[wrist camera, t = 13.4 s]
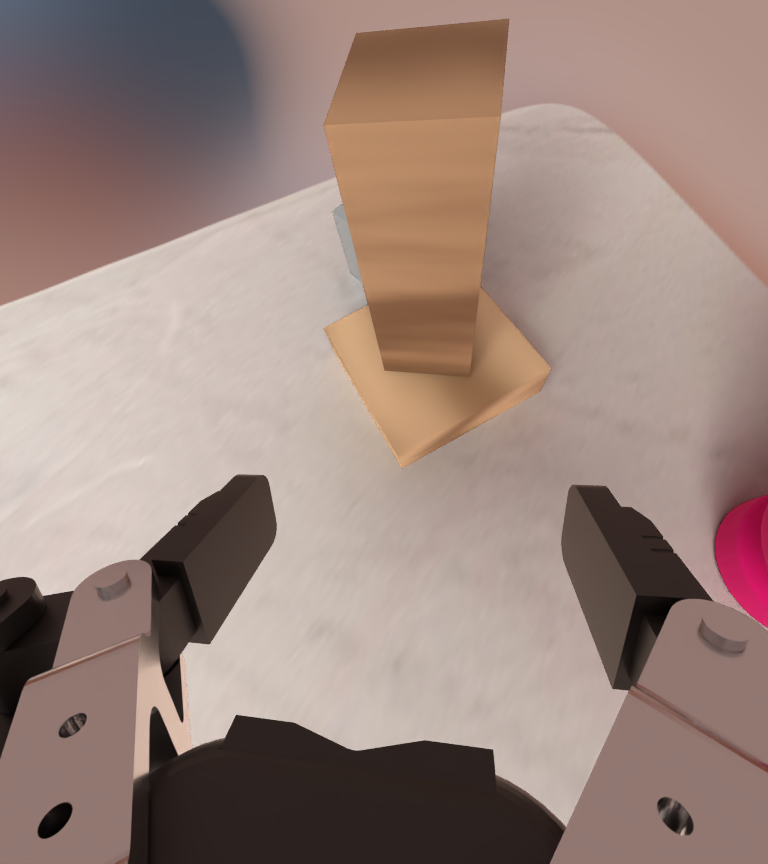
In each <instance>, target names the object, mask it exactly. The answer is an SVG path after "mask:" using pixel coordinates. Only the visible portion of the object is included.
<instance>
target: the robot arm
mask: <svg viewBox="0 0 768 864" xmlns="http://www.w3.org/2000/svg"><path fill="white" fill-rule="evenodd" d="M276 529H277V524H276V517H275V512H274V507H273V502H272V497H271V491H270V486H269V482H268V479H267V478H266V476H264V475H240V474H239V475H236V476H235V477H233V478H232V479H231V480H230V481H229V482H228V483H227V484H226V485H225V486H224V487H223V488H222V489H221V490H220V491H218V492H216V493H214V494H212V495H211V496H209V497H207V498H205V499H204V500H202V501H200V502H199V503H198V504H197V505H196V506H195V507H194V508H193V509H192V510H191V511H190V512H189V513H188V516H185V517H184V518H183V519H182V520H180V521H179V522H178V526H174V527H173V528H172V529H171V530H170V531H169V532H168V533H167V534H166V535H165V536H164V537H163V538H162V539H161V540H160V541H159V542H158V543H157V544H155V545H154V546H153V547H152V548H151V549H150V550H149V551H148V552H147V553H146V554H145V555H144V556H143V557H142V558H141V559H140V560H127V561H122V562H118V563H115V564H112V565H109V566H107V567H105V568H102V569H101V570H99V571H97V572H95V573H94V574H92V575H90V576H89V577H88V578H86V579H85V580H84V581H83V582H82V583H81V584H79V586H78V587H77V588H76V589H75V591H70V592H64V593H58V594H52V595H47V596H42V594H41V592H40V590H39V588H38V586H37V584H36V582H35V581H34V580H33V579H31V578H28V577H17V578H11V579H6V580H3V581H0V864H768V631H767V630H766V629H765V628H763V627H762V626H761V625H760V624H758V623H757V622H756V621H754V620H753V619H751V618H750V617H748V616H746V615H744V614H743V613H741V612H739V611H737V610H735V609H733V608H730V607H728V606H725V605H723V604H720V603H716V602H714V601H713V600H712V599H711V598H710V596H709V595H708V594H707V592H706V591H705V590H704V589H703V587H702V586H701V585H700V583H699V582H698V581H697V580H696V578H695V577H694V576H693V574H692V573H691V572H690V571H689V569H688V568H687V567H686V565H685V564H684V563H683V562H682V560H681V559H680V558H679V556H678V555H677V554H676V553H674V552H673V549H672V547H671V546H670V545H669V544H668V542H667V541H666V540H663V536H662V535H661V533H660V532H659V531H658V529H657V528H656V527H655V526H654V524H653V523H652V522H651V521H650V520H649V519H647V518H646V517H645V516H643V515H642V514H640V513H639V512H637V511H636V510H634V509H633V508H631V507H621V506H620V505H619V503H618V502H617V500H616V499H615V498H614V496H613V495H612V493H611V492H610V490H609V489H608V488H607V487H606V486H593V485H572V486H571V487H570V489H569V492H568V498H567V504H566V511H565V518H564V524H563V531H562V540H561V545H562V555H563V560H564V563H565V566H566V568H567V571H568V574H569V576H570V579H571V581H572V584H573V587H574V589H575V592H576V594H577V597H578V600H579V602H580V605H581V608H582V610H583V613H584V615H585V618H586V621H587V623H588V626H589V629H590V631H591V634H592V636H593V639H594V642H595V644H596V647H597V650H598V652H599V655H600V657H601V660H602V663H603V665H604V668H605V671H606V673H607V676H608V678H609V681H610V684H611V686H612V689H620V690H629V692H628V694H627V696H626V698H625V700H624V703H623V705H622V707H621V709H620V711H619V714H618V716H617V718H616V720H615V722H614V725H613V727H612V729H611V731H610V733H609V735H608V738H607V740H606V742H605V744H604V746H603V749H602V751H601V753H600V755H599V757H598V759H597V762H596V764H595V766H594V768H593V770H592V773H591V775H590V777H589V779H588V781H587V783H586V786H585V788H584V790H583V792H582V794H581V797H580V799H579V801H578V803H577V805H576V807H575V810H574V812H573V814H572V816H571V818H570V821H569V823H568V825H567V827H566V826H565V825H564V824H563V823H562V822H561V821H560V820H559V819H558V818H557V817H556V816H555V815H554V814H553V813H552V812H550V811H549V810H548V809H547V808H546V807H545V806H544V805H543V804H542V803H540V802H539V801H538V800H536V799H535V798H534V797H532V796H531V795H530V794H529V793H527V792H526V791H524V790H523V789H521V788H519V787H518V786H516V785H514V784H513V783H511V782H510V781H508V780H505V779H503V778H501V777H499V776H497V775H495V766H494V754H493V750H492V749H484V748H477V747H469V746H462V745H455V744H447V743H440V742H432V741H425V740H424V741H418V742H412V743H405V744H399V745H393V746H386V747H380V748H374V749H367V750H360V751H355V750H350V749H347V748H345V747H343V746H341V745H339V744H337V743H335V742H333V741H331V740H329V739H327V738H325V737H322V736H320V735H318V734H316V733H314V732H312V731H310V730H308V729H306V728H304V727H302V726H300V725H298V724H296V723H292V722H284V721H277V720H270V719H262V718H255V717H247V716H240V715H236V716H235V718H234V720H233V723H232V725H231V727H230V729H229V731H228V733H227V735H226V737H225V738H223V739H218V740H215V741H212V742H208V743H205V744H202V745H200V746H197V747H195V748H193V746H192V741H191V734H190V722H189V709H188V696H187V683H186V670H185V660H184V657H183V654H182V651H183V650H184V648H185V647H186V646H187V644H188V643H189V642H191V643H201V644H210V643H211V641H212V640H213V638H214V637H215V635H216V633H217V632H218V630H219V629H220V627H221V625H222V624H223V622H224V621H225V619H226V617H227V616H228V614H229V613H230V611H231V609H232V608H233V606H234V605H235V603H236V601H237V600H238V598H239V597H240V595H241V594H242V592H243V590H244V589H245V587H246V586H247V584H248V582H249V581H250V579H251V578H252V576H253V574H254V573H255V571H256V570H257V568H258V566H259V565H260V563H261V562H262V560H263V559H264V557H265V555H266V554H267V552H268V551H269V549H270V547H271V546H272V544H273V542H274V539H275V536H276Z"/></svg>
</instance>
